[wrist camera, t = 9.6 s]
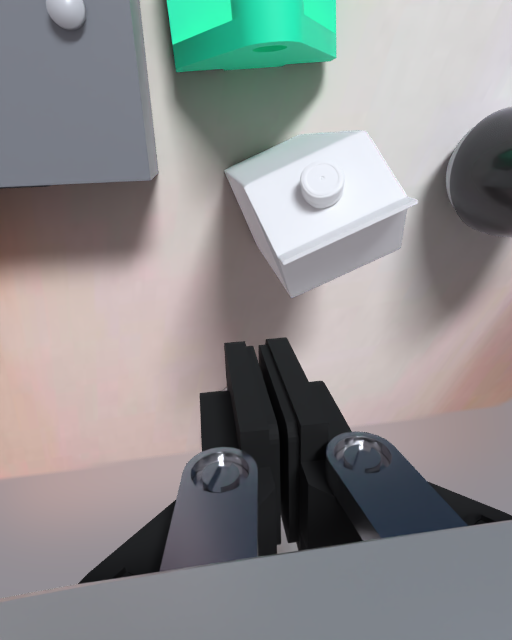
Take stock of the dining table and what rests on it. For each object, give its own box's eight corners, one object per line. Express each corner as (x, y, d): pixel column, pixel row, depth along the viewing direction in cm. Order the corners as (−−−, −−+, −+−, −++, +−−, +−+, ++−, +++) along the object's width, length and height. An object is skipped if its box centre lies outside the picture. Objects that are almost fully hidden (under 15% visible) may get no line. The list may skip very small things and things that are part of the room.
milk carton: (328, 212, 40) (435, 266, 22) (256, 245, 40) (308, 324, 23) (300, 133, 37) (398, 125, 20) (223, 169, 37) (252, 193, 20)
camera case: (158, 174, 37) (150, 183, 29) (-71, 184, 35) (-149, 197, 27) (139, -1, 32) (122, -48, 24) (-126, -1, 30) (-240, -53, 22)
